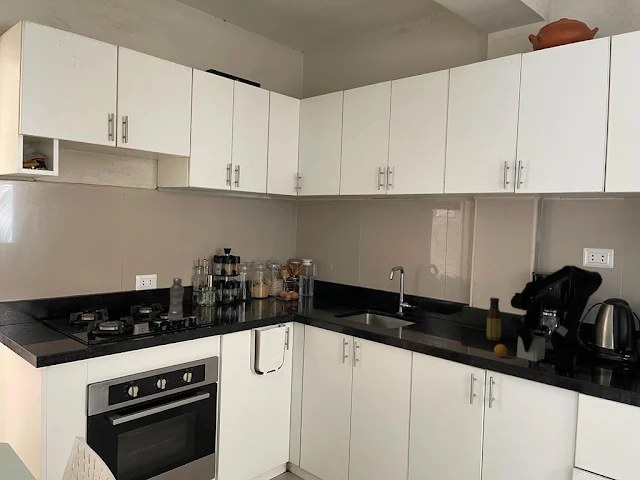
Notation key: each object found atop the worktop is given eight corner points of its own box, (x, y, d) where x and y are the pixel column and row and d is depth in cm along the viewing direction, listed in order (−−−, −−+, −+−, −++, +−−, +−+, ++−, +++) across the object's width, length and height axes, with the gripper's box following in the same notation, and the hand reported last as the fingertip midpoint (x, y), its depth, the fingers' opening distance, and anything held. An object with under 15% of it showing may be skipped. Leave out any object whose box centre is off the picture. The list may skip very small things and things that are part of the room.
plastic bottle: (166, 319, 235) (168, 278, 235) (181, 319, 239) (183, 278, 238) (169, 322, 230) (171, 279, 229) (183, 321, 233) (186, 279, 232)
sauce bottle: (502, 340, 234) (505, 298, 233) (497, 342, 229) (499, 299, 229) (488, 337, 238) (491, 296, 238) (483, 339, 233) (486, 297, 233)
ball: (509, 357, 201) (509, 345, 201) (503, 359, 198) (503, 346, 198) (497, 354, 205) (498, 342, 205) (491, 356, 201) (492, 343, 201)
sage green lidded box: (544, 358, 202) (545, 337, 202) (535, 361, 197) (537, 339, 196) (525, 354, 208) (526, 333, 208) (516, 356, 202) (517, 335, 202)
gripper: (524, 307, 214) (522, 343, 214) (504, 311, 201) (501, 349, 202) (550, 312, 206) (548, 349, 206) (531, 315, 193) (528, 355, 194)
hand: (531, 350), depth 202 cm, fingers closed on sage green lidded box, 8 cm apart
